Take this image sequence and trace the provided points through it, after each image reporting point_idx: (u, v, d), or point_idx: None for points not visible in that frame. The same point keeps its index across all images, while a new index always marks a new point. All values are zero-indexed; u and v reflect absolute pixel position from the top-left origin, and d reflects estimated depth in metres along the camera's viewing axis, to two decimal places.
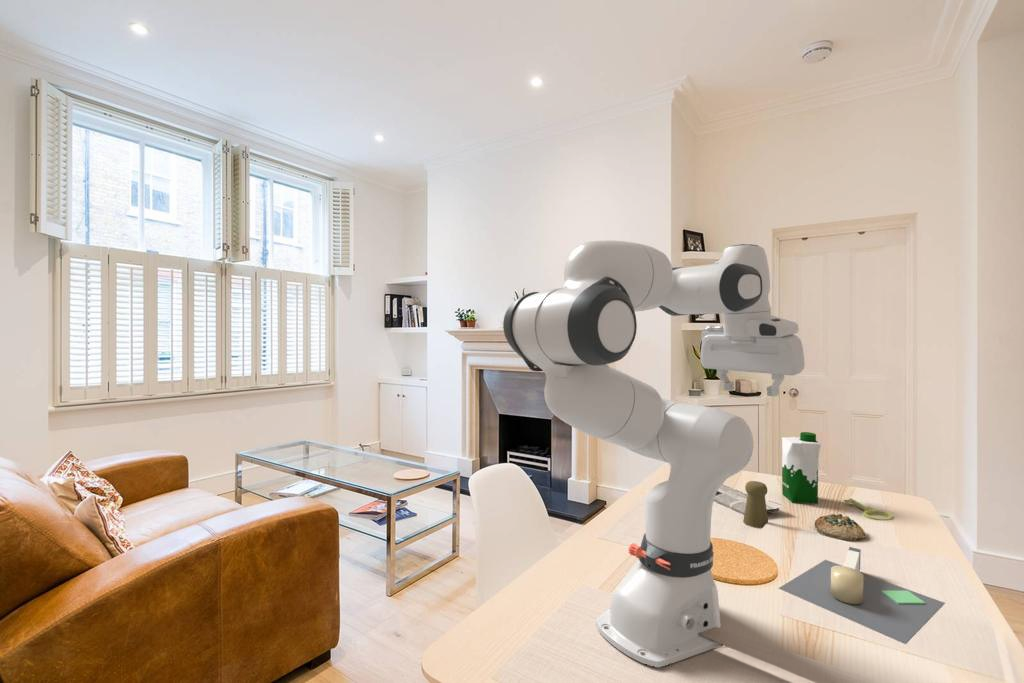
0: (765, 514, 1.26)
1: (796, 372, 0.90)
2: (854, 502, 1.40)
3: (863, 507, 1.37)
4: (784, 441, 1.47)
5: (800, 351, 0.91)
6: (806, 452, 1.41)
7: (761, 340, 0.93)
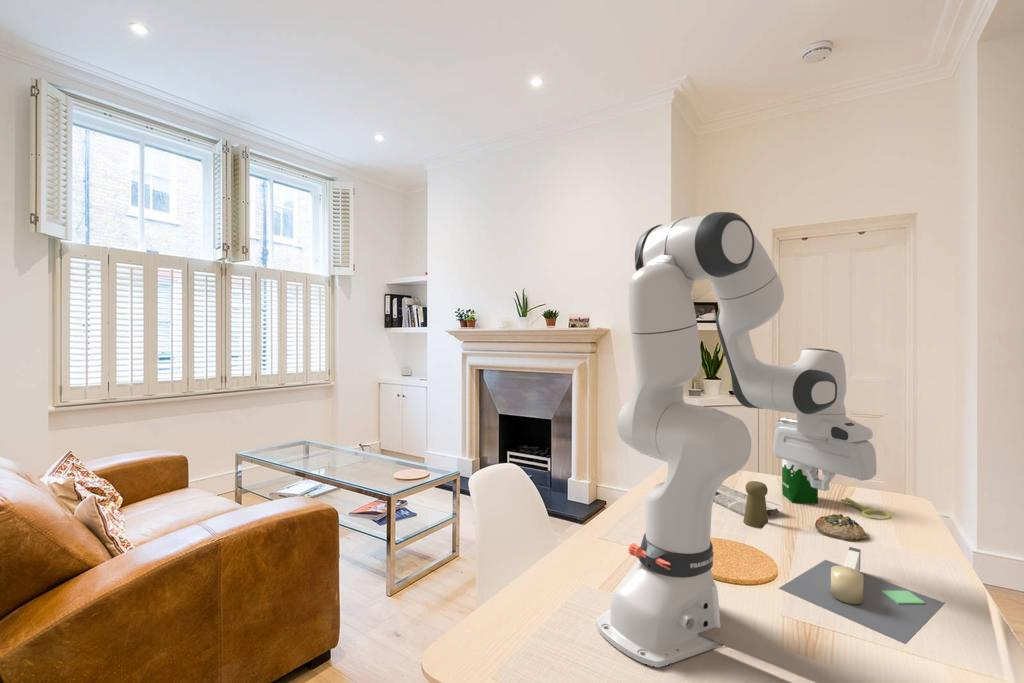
0: (765, 514, 1.26)
1: (866, 478, 0.94)
2: (851, 502, 1.40)
3: (860, 507, 1.37)
4: None
5: (872, 458, 0.95)
6: None
7: (833, 442, 0.98)
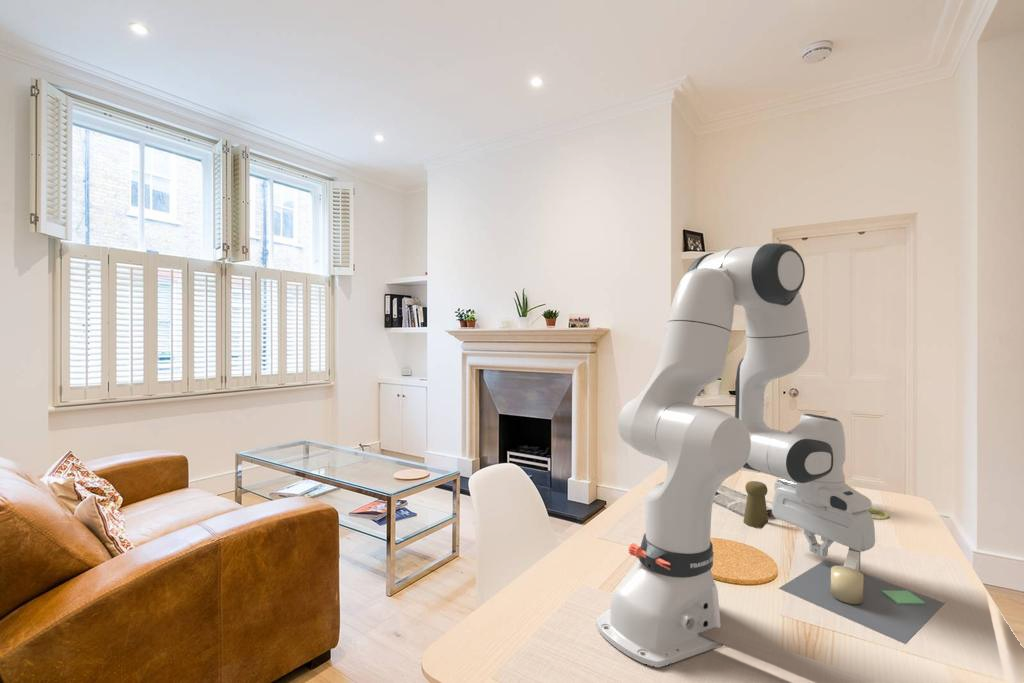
0: (765, 514, 1.26)
1: (865, 549, 0.94)
2: None
3: None
4: None
5: (871, 529, 0.95)
6: None
7: (831, 510, 0.98)
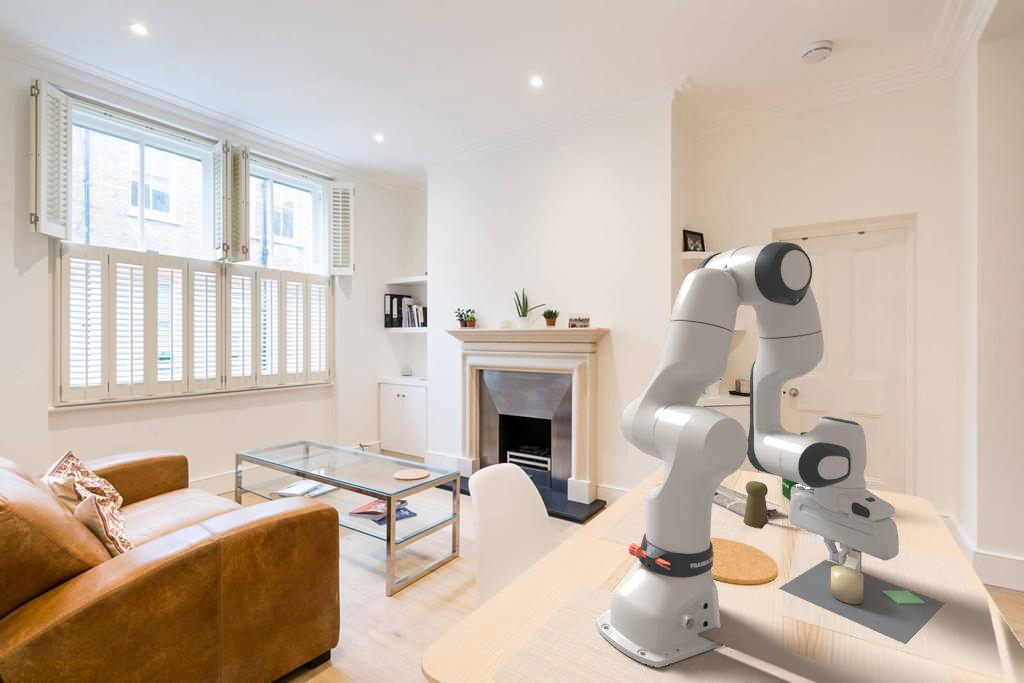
0: (765, 514, 1.26)
1: (889, 558, 0.91)
2: None
3: None
4: None
5: (894, 537, 0.92)
6: None
7: (853, 517, 0.95)
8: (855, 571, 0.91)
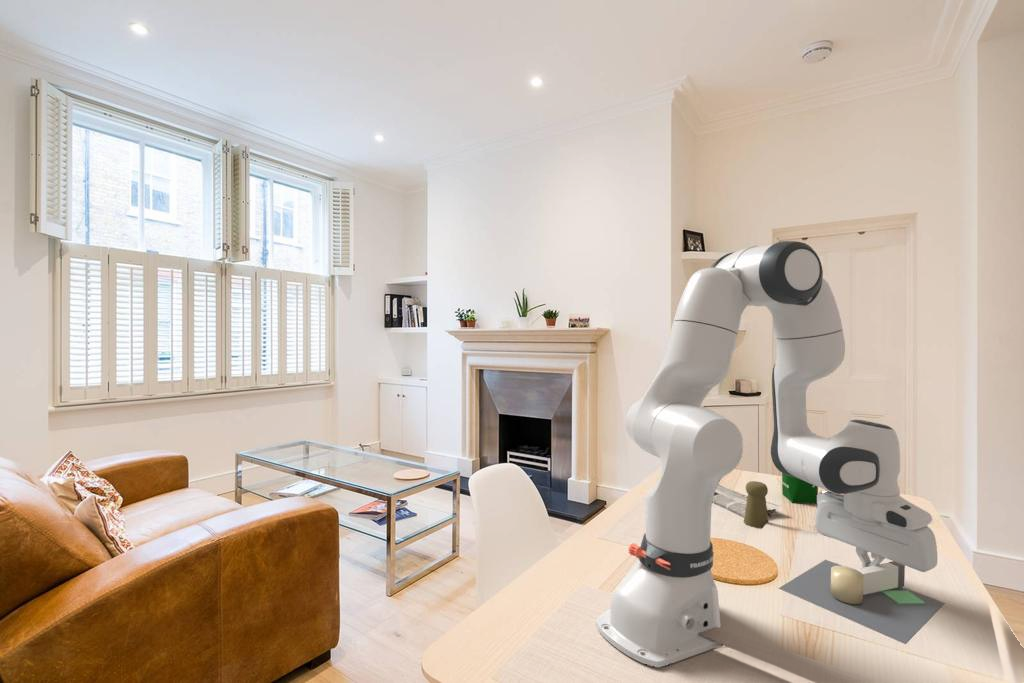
0: (765, 514, 1.26)
1: (928, 570, 0.86)
2: None
3: None
4: None
5: (933, 547, 0.87)
6: None
7: (888, 527, 0.90)
8: (858, 574, 0.90)
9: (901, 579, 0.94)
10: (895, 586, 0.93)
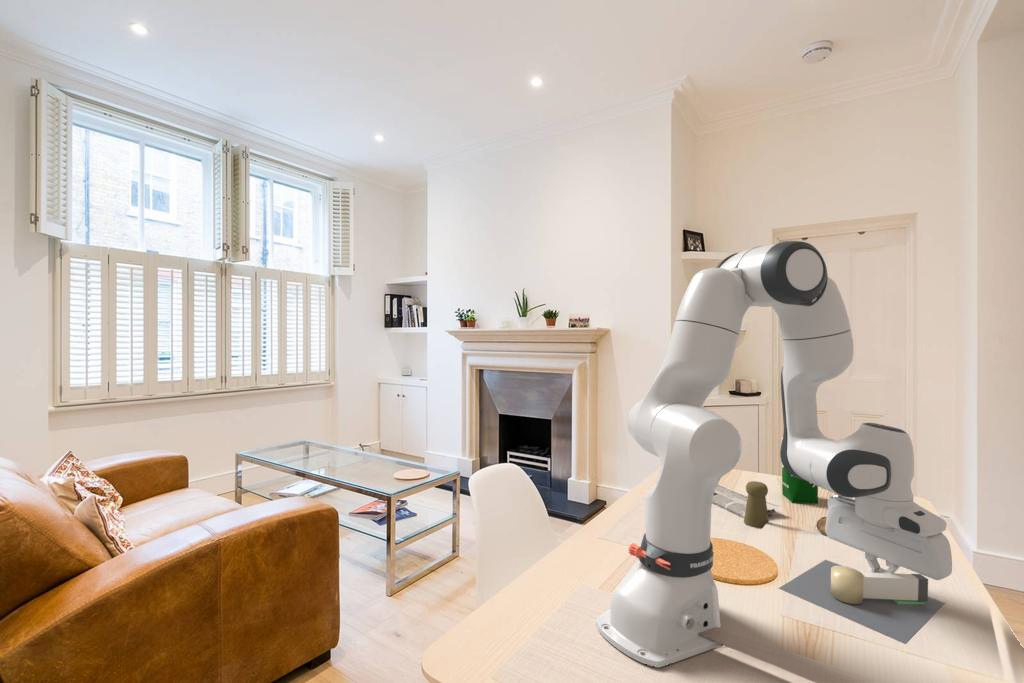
0: (766, 514, 1.26)
1: (942, 578, 0.83)
2: None
3: None
4: None
5: (948, 554, 0.84)
6: None
7: (900, 533, 0.87)
8: (858, 575, 0.89)
9: (923, 593, 0.89)
10: (914, 599, 0.89)
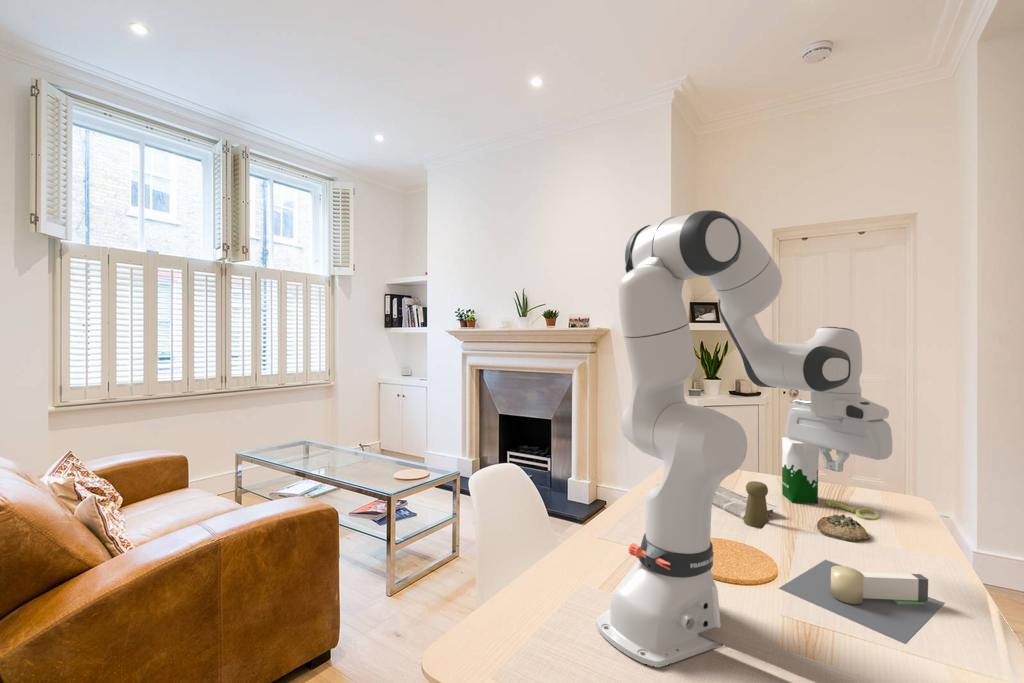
0: (766, 514, 1.26)
1: (882, 457, 0.92)
2: (835, 503, 1.39)
3: (848, 507, 1.37)
4: (784, 441, 1.47)
5: (888, 437, 0.93)
6: (806, 452, 1.41)
7: (847, 421, 0.96)
8: (858, 575, 0.89)
9: (923, 593, 0.89)
10: (914, 599, 0.89)
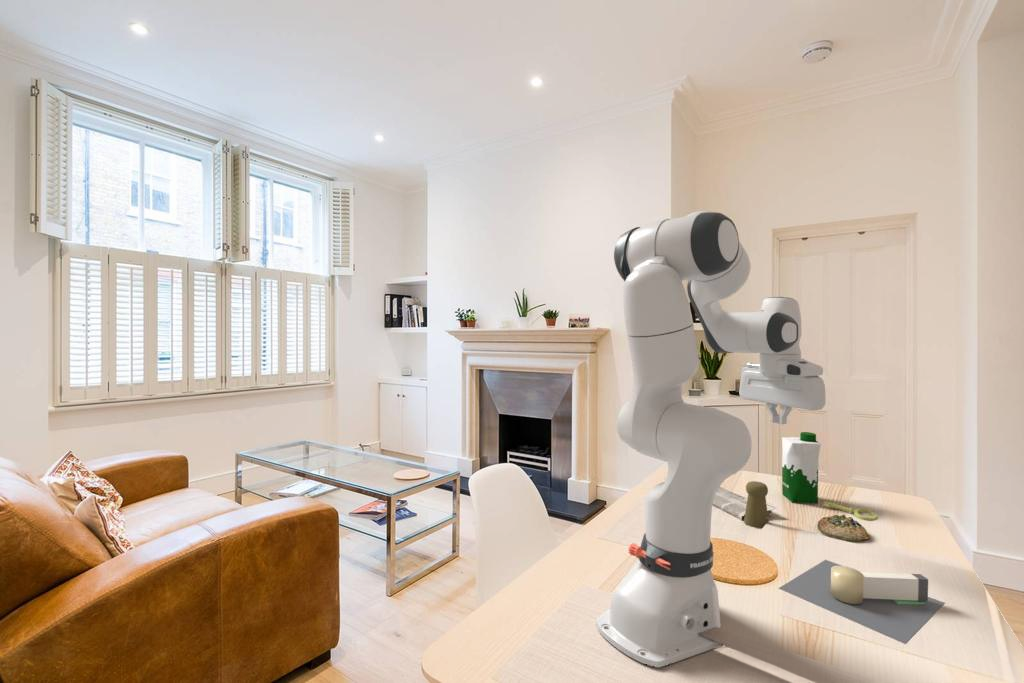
0: (766, 514, 1.26)
1: (816, 408, 1.07)
2: (832, 505, 1.38)
3: (846, 508, 1.36)
4: (784, 441, 1.47)
5: (821, 390, 1.07)
6: (806, 452, 1.41)
7: (788, 378, 1.11)
8: (858, 575, 0.89)
9: (923, 593, 0.89)
10: (914, 599, 0.89)
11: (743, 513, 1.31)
